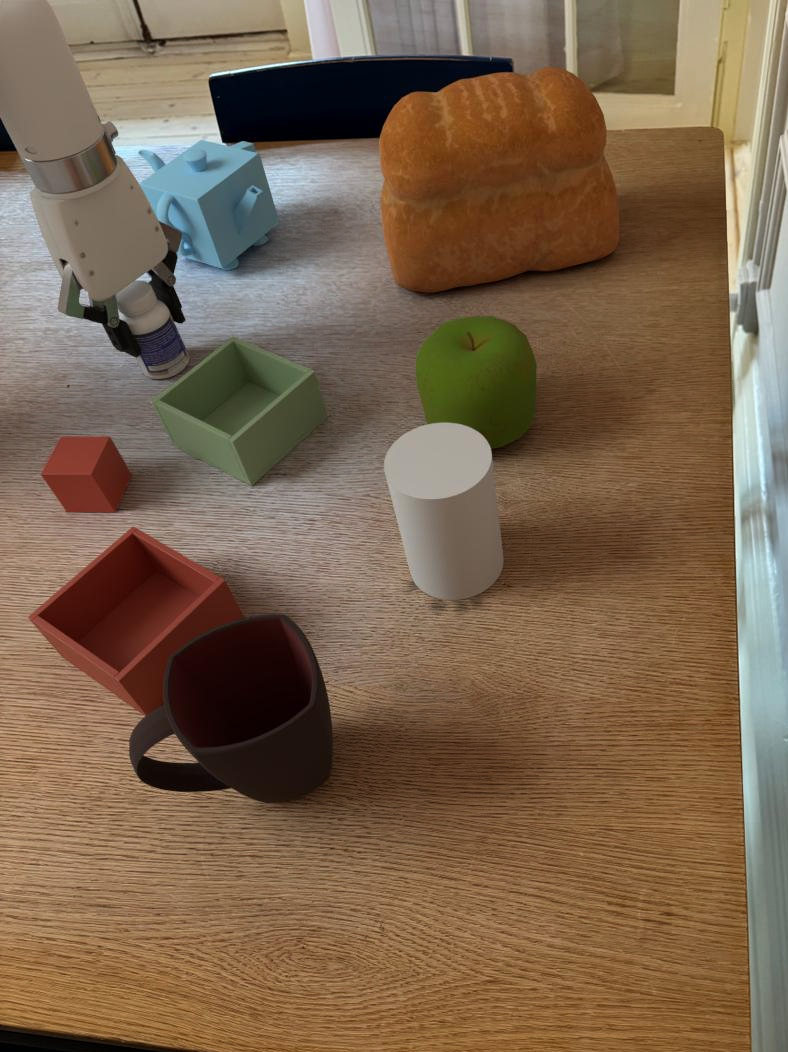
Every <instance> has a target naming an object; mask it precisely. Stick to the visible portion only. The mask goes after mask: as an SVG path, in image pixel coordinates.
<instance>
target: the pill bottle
mask: <svg viewBox="0 0 788 1052" xmlns="http://www.w3.org/2000/svg"><path fill="white" fill-rule="evenodd" d="M148 282H149V281H148ZM148 282H147V281H146V280H135V281H134V282H132V283H131V284H129V285H128V286H127V287H125V288H124V289H122V290H121V291H119V292H118V293H116V300H117V307H118V312H119V319H121V320H123V321H125V322H126V323H127V324H128V326H129V328H130V330H131V332H132V334H133V336H134V338H135V340H136V342H137V344H138V346H139V348H140V350H141V355H140V356H138V357H137V358H136V357H134V358H135V360H136V362H137V364H138V366H139V368H140V370H141V372H142V373H143V374H144V375H145V376H146V377H148V378H150V379H154V380H165V379H168V378H172V377H174V376H176V375H178V374H180V373H181V372H182V371H184V369H185V368H186V367H187V366H188V364H189V361H190V354H189V352H188V349H187V347H186V345H185V343H184V341H183V338H182V336H181V334H180V331H179V330H178V328H177V326H176V322H174V320H173V318H172V316H171V314H170V311H169V309H168V307H167V306H166V305H165V304H164V303H163V302H162V301H160V300H157V298H156V296H155V293H154V291H153V289H152V287H151V285H150V284H149V283H148Z"/></svg>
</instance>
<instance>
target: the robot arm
mask: <svg viewBox="0 0 788 1052" xmlns="http://www.w3.org/2000/svg"><path fill="white" fill-rule="evenodd" d="M0 120H1V122H2V124H3V126H4V128H5V129H6V132H7V134H8V135H9V137H10V139H11V141H12V144H13V145H14V147H15V149H16V152H17V153H18V155H19V157H20V160H21V162H22V163H23V165H24V167H25V169H26V171H27V173H28V175H29V177H30V179H31V180H32V183H33V184H34V186H35V187H34V188H33V189H31V191H29V197H30V201H31V205H32V208H33V213H34V216H35V219H36V222H37V225H38V227H39V230H40V233H41V235H42V238H43V240H44V244H46V247H47V249H48V252H49V255H50V257H51V259H52V261H53V263H54V266H55V268H56V270H57V273H58V274H59V276H60V278H61V283H60V285H61V286H60V290H59V297H58V301H57V302H58V303H57V310H58V312H59V313H61V314H64V315H66V316H68V317H70V318H76V319H81V320H87V321H89V322H93V323H97V324H100V325H102V328H103V329H104V331H105V333H106V335H107V337H108V339H109V341H110V342H111V345H112V346H113V347H114V349H115V350H117V351H118V352H120V353H125V354H127V355H129V356H131V357H134V358H135V357H136V358H137V357H138V356H140V355H141V350H140V348H139V346H138V344H137V342H136V340H135V338H134V336H133V334H132V332H131V330H130V328H129V326H128V324H127V323H126V322H125V321H123V320H121V319H119V315H120V312H119V310H118V307H117V300H116V293H118V292H119V291H121V290H122V289H124V288H125V287H127V286H128V285H129V284H131V283H132V282H134V281H138V279H140V278H141V277H142V276H144V275H146V274H147V276H148V277H149V278H150V279H151V280H150V281H148V283H149V284H150V285H151V287H152V289H153V291H154V293H155V296H156V298H157V300H160V301H162V302H163V303H164V304H165V305H166V306H167V307H168V309H169V311H170V314H171V316H172V318H173V320H174V323H175V324H176V323H177V324H183V323H185V322H186V318H185V315H184V312H183V310H182V308H183V306H182V303H181V300H180V297H179V296H178V293H177V291H176V289H175V285H176V284H177V277H176V275H175V272H176V271H175V270H176V267H177V263H178V259H179V257H178V255H177V252H178V250H179V247H180V243H181V240H182V233H181V231H179V230H177V229H175V228H173V227H171V226H169V225H167V224H165V223H162V222H160V221H158V219H157V217H156V215H155V213H154V211H153V209H152V207H151V205H150V203H149V201H148V199H147V197H146V195H145V193H144V192H143V190H142V188H141V186H140V182H139V181H138V179H137V178H136V177H135V175H134V173H133V172H132V170H131V169H130V167H129V166H128V164H127V163H126V162H125V160H124V159H123V157H121V156H119V155H117V152H116V150H115V148H114V146H113V142H114V140H115V139H116V138H118V137H119V130H118V129H117V127H116V125H115V124H114V123H113V122H112V121H106V122H105V123H102V120H101V118H100V116H99V114H98V111H97V109H96V107H95V104H94V102H93V99H92V97H91V96H90V92H89V90H88V87H87V85H86V83H85V81H84V79H83V75H82V73H81V71H80V68H79V66H78V64H77V62H76V59H75V57H74V55H73V52H72V50H71V48H70V46H69V43H68V41H67V38H66V36H65V33H64V31H63V29H62V27H61V24H60V21H59V20H58V17H57V15H56V14H55V11H54V9H53V7H52V6H51V4H50V3H49V1H48V0H0ZM82 290H84V291H85V292H87V295H88V302H89V304H85V303H80V297H81V291H82ZM136 358H135V359H136Z"/></svg>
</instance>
